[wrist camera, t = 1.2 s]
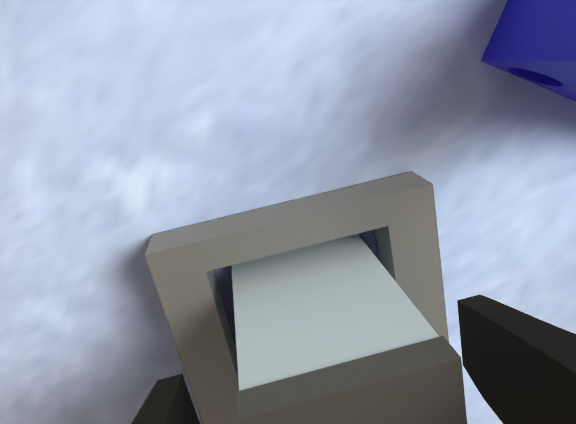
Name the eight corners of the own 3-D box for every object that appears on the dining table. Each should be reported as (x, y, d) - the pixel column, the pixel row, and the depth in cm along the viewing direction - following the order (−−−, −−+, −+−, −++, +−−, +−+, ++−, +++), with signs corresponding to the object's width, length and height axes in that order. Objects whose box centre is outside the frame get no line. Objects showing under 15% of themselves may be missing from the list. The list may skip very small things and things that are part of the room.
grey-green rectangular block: (374, 337, 16) (475, 516, 10) (259, 367, 16) (286, 573, 9) (356, 228, 14) (461, 357, 8) (229, 260, 14) (237, 418, 8)
